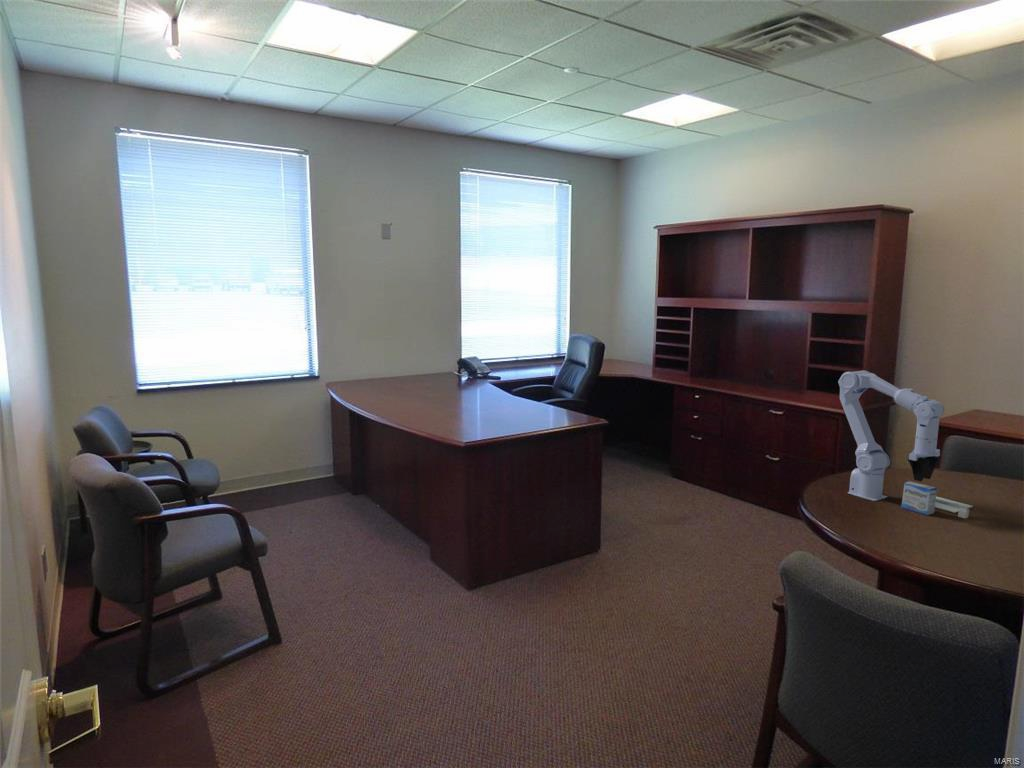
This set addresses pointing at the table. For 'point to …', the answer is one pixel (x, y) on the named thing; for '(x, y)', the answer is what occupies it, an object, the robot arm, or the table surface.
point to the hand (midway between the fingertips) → (922, 479)
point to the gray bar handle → (963, 513)
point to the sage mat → (949, 508)
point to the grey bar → (952, 504)
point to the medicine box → (919, 498)
